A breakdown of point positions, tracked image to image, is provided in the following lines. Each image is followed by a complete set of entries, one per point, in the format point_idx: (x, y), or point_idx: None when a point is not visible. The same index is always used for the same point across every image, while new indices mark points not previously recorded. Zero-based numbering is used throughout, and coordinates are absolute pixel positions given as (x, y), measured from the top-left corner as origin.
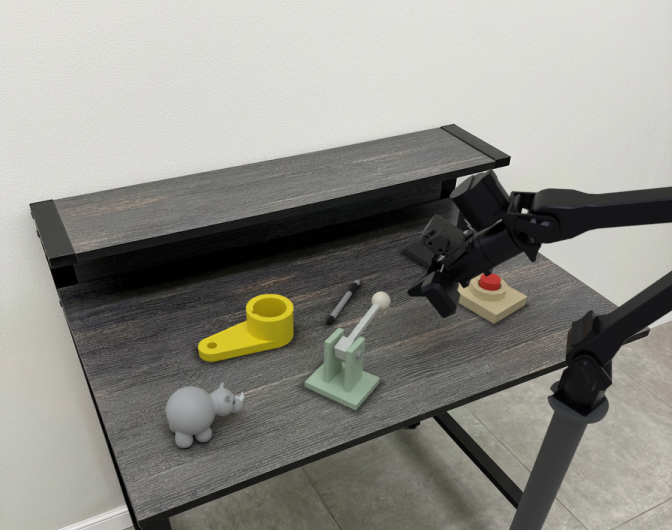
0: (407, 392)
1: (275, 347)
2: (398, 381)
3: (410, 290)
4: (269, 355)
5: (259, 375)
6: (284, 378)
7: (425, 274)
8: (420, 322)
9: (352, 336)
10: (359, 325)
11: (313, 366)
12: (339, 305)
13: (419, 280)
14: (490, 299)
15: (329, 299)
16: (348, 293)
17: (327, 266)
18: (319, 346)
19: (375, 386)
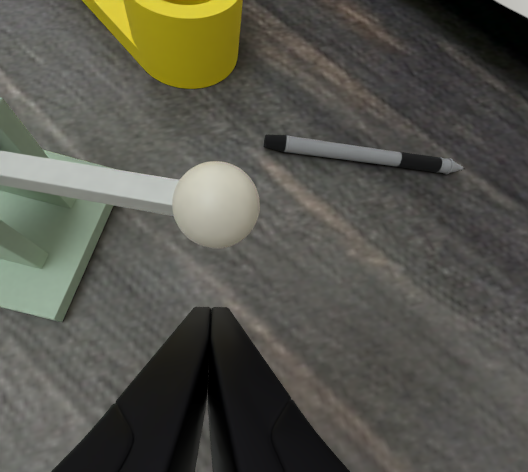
0: (33, 418)
1: (141, 64)
2: (82, 375)
3: (178, 329)
4: (113, 61)
5: (37, 58)
6: (36, 103)
7: (232, 465)
8: (380, 368)
9: None
10: (45, 166)
11: (96, 149)
12: (334, 146)
13: (220, 388)
14: None
15: (360, 127)
16: (391, 155)
17: (472, 99)
18: (177, 145)
19: (34, 315)
